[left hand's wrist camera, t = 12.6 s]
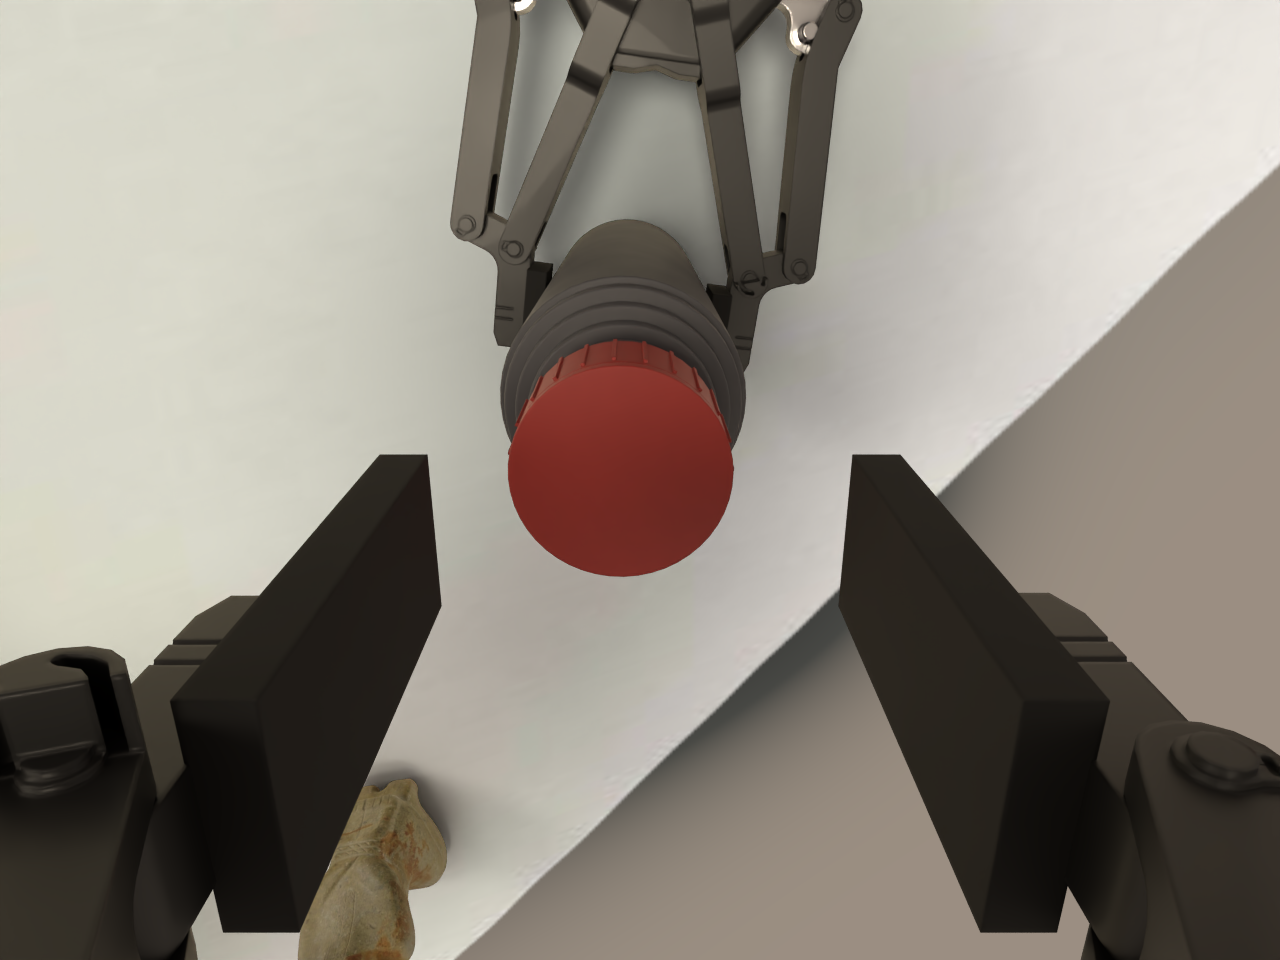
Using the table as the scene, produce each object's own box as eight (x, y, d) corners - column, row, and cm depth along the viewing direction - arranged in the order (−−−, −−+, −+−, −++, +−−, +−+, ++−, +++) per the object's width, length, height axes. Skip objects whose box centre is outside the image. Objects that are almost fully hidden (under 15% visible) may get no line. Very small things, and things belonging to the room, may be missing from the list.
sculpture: (370, 869, 52) (274, 1134, 38) (334, 773, 50) (217, 1018, 35) (465, 855, 52) (402, 1116, 38) (433, 757, 49) (354, 999, 35)
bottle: (624, 189, 39) (613, 240, 16) (722, 287, 40) (842, 464, 17) (531, 292, 40) (398, 474, 17) (629, 383, 42) (626, 660, 19)
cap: (617, 292, 18) (615, 311, 16) (767, 435, 19) (784, 472, 17) (477, 442, 19) (457, 479, 17) (626, 568, 20) (625, 619, 18)
